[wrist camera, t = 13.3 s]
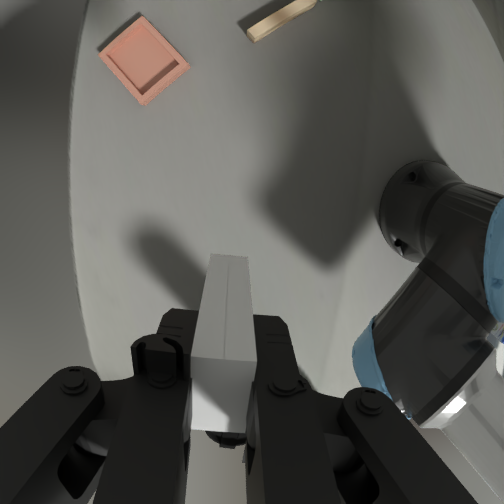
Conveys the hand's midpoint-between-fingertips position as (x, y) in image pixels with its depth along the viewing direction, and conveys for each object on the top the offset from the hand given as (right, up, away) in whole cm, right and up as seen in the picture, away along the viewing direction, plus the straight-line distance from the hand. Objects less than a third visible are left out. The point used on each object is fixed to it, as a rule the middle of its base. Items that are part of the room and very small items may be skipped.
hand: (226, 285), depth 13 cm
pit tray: (-13, +26, +21) cm, 36 cm away
